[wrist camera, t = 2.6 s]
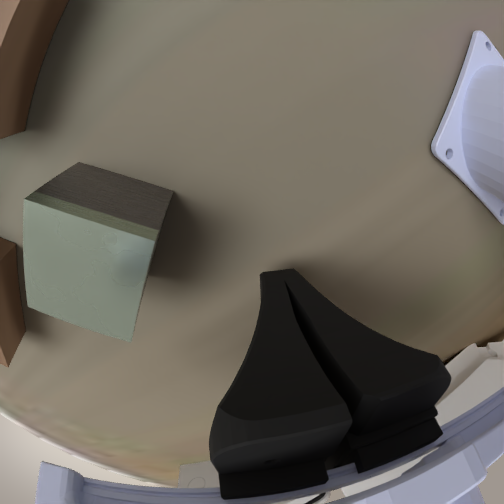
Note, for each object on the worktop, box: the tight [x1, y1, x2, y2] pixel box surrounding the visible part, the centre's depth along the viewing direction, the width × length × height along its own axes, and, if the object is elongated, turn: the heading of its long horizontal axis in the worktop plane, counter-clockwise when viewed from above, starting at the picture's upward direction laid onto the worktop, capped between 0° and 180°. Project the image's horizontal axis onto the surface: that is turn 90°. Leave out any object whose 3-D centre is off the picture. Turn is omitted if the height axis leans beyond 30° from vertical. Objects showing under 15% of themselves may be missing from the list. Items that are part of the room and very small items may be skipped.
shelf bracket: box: [341, 340, 504, 497], centre depth 18 cm, size 6×25×13 cm, turn 97°
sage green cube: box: [23, 162, 173, 342], centre depth 9 cm, size 4×4×4 cm
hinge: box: [178, 461, 330, 504], centre depth 21 cm, size 17×5×10 cm, turn 116°
